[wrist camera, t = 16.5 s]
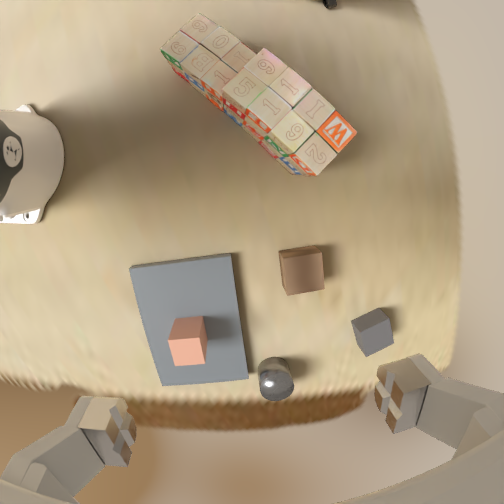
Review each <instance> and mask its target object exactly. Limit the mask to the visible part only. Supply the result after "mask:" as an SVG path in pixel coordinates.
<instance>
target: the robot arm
mask: <svg viewBox="0 0 504 504" xmlns="http://www.w3.org/2000/svg"><path fill="white" fill-rule="evenodd" d="M63 165H64V149H63V143H62V139H61V136H60V134H59V132H58V130H57V128H56V127H55V125H54V124H53V123H52V122H51V121H49V120H48V119H46V118H44V117H41V116H39V115H37V114H36V112H35V111H34V109H33V108H32V107H31V106H30V105H22V106H20V107H19V108H18V109H16V110H15V111H13V110H0V223H20V224H35V223H38V222H39V221H40V220H41V218H42V215H43V211H44V207H45V205H46V203H47V201H48V200H49V199H50V197H51V196H52V195H53V193H54V192H55V190H56V188H57V186H58V184H59V181H60V178H61V175H62V171H63ZM28 214H29V217H28ZM377 377H378V378H379V380H380V381H379V382H378V383H377V385H376V386H375V393H374V394H375V401H376V404H377V407H378V409H379V411H380V412H382V413H384V414H386V415H387V416H386V420H385V421H386V423H387V424H388V426H389V428H390V429H391V431H392V433H393V434H395V433H398V432H401V431H404V430H407V429H410V428H413V427H416V428H418V429H420V430H421V431H423V432H425V433H427V434H429V435H431V436H432V437H434V438H436V439H438V440H440V441H442V442H444V443H446V444H447V445H449V446H451V447H453V448H455V449H457V450H456V452H455V454H454V456H453V458H452V459H451V460H450V461H448V462H446V463H444V464H442V465H440V466H438V467H436V468H434V469H431V470H429V471H427V472H425V473H423V474H420V475H418V476H416V477H413V478H411V479H408V480H406V481H403V482H401V483H398V484H395V485H393V486H390V487H387V488H384V489H381V490H378V491H376V492H372V493H369V494H366V495H363V496H359V497H356V498H353V499H349V500H345V501H341V502H337V503H333V504H504V393H500V392H497V391H493V390H489V389H486V388H482V387H479V386H475V385H472V384H469V383H465V382H461V381H459V380H455V379H452V378H446V379H445V378H444V377H443V376H442V375H441V374H440V373H439V372H438V371H437V369H436V368H435V367H434V366H433V365H432V364H431V363H430V362H429V361H428V360H427V359H426V358H425V357H424V356H423V355H422V354H416V355H413V356H410V357H407V358H404V359H401V360H398V361H394V362H391V363H388V364H384V365H380V366H379V368H378V371H377ZM127 408H128V406H127V405H126V403H125V401H124V399H122V398H112V397H96V396H95V397H92V396H82V397H80V398H79V400H78V402H77V403H76V405H75V407H74V409H73V411H72V412H71V414H70V416H69V418H68V420H67V422H66V424H65V425H64V426H59V427H58V428H56V429H55V430H53V431H51V432H50V433H49V434H47V435H45V436H43V437H42V438H40V439H39V440H37V441H35V442H33V443H32V444H30V445H28V446H27V447H26V448H23V449H22V450H20V451H19V452H17V453H15V454H14V455H13V456H12V458H11V459H10V461H9V463H8V465H7V466H6V468H5V470H4V472H3V474H2V475H1V477H0V504H80V503H79V502H77V500H76V499H75V498H74V496H75V495H76V494H77V493H78V492H79V491H80V490H81V489H82V488H83V487H84V486H85V485H87V484H88V483H89V482H90V481H91V480H92V479H93V478H94V477H95V476H96V475H97V474H98V473H99V472H100V471H101V470H102V469H103V468H104V467H105V465H110V466H111V465H112V466H123V467H128V464H129V461H130V457H131V454H132V452H131V450H130V448H129V446H131V445H132V444H133V443H135V439H136V425H135V421H134V419H133V417H132V416H131V415H130V414H128V413H127V412H126V410H127Z"/></svg>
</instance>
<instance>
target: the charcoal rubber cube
mask: <svg viewBox="0 0 504 504" xmlns="http://www.w3.org/2000/svg"><path fill="white" fill-rule="evenodd" d="M351 322H352V326H353V329H354V333H355V337H356V340H357V344H358V346H359V347H360V349H361V350H362V352H363V353H364V354H365V356H366V357H367V356H369V355H371V354H373V353H376V352H378V351H380V350H382V349H384V348H386V347H387V346H389V345H391V344H393V343H394V340H393V335H392V329H391V324H390V319H389V317H388V316H387V315H386V314H385V313H384V312H383V311H382V310H381V309H380V308H377V309H375V310H373V311H371V312H369V313H367V314H364V315H362V316H360V317H358V318H356V319H354V320H352V321H351Z"/></svg>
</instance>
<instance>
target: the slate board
mask: <svg viewBox="0 0 504 504" xmlns="http://www.w3.org/2000/svg"><path fill="white" fill-rule="evenodd" d="M129 271H130V275H131V280H132V284H133V288H134V292H135V296H136V300H137V304H138V308H139V312H140V315H141V319H142V323H143V326H144V330H145V333H146V337H147V340H148V343H149V347H150V350H151V353H152V356H153V359H154V363H155V366H156V369H157V372H158V375H159V378H160V381H161V383H162V386H171V385H188V384H202V383H214V382H225V381H234V380H243V379H249V376H248V369H247V362H246V356H245V349H244V342H243V336H242V329H241V322H240V316H239V309H238V302H237V295H236V288H235V281H234V273H233V266H232V259H231V253H227V254H219V255H211V256H203V257H196V258H188V259H180V260H172V261H164V262H157V263H149V264H141V265H133V266H131V267H130V268H129ZM196 316H203V319H204V324H205V329H206V334H207V339H208V342H207V351H206V361H205V364H197V365H184V366H175V364H174V361H173V357H172V354H171V350H170V347H169V343H168V338H169V335H170V332H171V329H172V326H173V323H174V320H175V319H176V318H186V317H196Z"/></svg>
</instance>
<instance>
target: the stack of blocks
mask: <svg viewBox="0 0 504 504" xmlns="http://www.w3.org/2000/svg"><path fill="white" fill-rule="evenodd" d="M160 50H161V52H162V54H163V55H164V57H165V58H166V59H167V60H168V62H169V64H170V65H171V66H172V68H173V70H174V71H175V72H176V73H177V74H178V75H180V76H181V77H182V78H183V79H185V80H186V81H187V82H189V83H190V84H191V86H193V87H194V88H195V89H196V90H198V91H199V92H200V93H201V94H202V95H204V96H205V97H206V98H207V99H208V100H210V101H211V102H212V103H213V104H214V105H216V106H217V107H218V108H219V109H220V110H221V111H223V112H225V113H226V114H227V115H228V116H229V117H230V118H232V119H233V120H234V121H235V122H236V123H237V124H238V125H240V126H241V127H242V128H243V129H244V130H245V131H247V132H248V133H249V134H250V135H251V136H252V137H253V138H254V139H255V140H257V141H258V143H259V144H260V145H261V146H262V147H263V148H264V149H266V150H267V151H268V152H269V153H270V154H271V155H272V156H273V157H274V158H275V159H276V160H277V161H278V162H279V163H280V164H281V165H282V166H283V167H284V168H285V169H286V170H287V171H288V172H289V173H290V174H295V175H296V174H299V175H304V176H310V175H312V176H318V175H319V174H320V173H321V171H322V170H323V169H324V168H325V167H326V166H327V165H328V164H329V163H330V162H331V161H332V160H333V159H334V158H335V157H336V156H337V153H339V152H340V151H341V150H342V149H343V148H344V147H345V146H346V145H347V144H348V143H349V142H350V141H351V139H352V138H353V137H354V136H355V135H356V134H357V131H356V130H355V129H354V128H353V127H352V126H351V125H350V124H349V123H348V122H347V121H346V120H345V119H344V118H343V117H342V116H341V115H340V114H339V113H338V112H337V111H335V107H333V106H332V105H331V104H330V103H329V102H328V101H327V100H326V99H325V98H324V97H323V96H322V95H321V94H319V93H318V92H317V91H316V90H315V89H313V88H312V86H311V85H310V84H309V83H308V82H307V81H306V80H304V79H303V78H302V77H301V76H300V75H299V74H297V73H296V72H295V71H294V70H293V69H291V68H290V67H288V66H287V65H286V64H285V63H284V62H282V61H281V60H280V59H279V58H277V57H276V56H275V55H274V54H272V53H271V52H270V51H268V50H267V49H266V48H263V49H262V50H261V51H260V52H259V53H258V54H256V53H255V52H253V51H252V50H251V49H250V48H248V47H247V46H246V45H244V44H243V43H242V42H241V41H240V40H239V39H238V38H236V37H235V36H234V35H232V34H231V33H230V32H228V31H227V30H225V29H224V28H223V27H221V26H218V25H217V24H215V23H214V22H212V21H211V20H209V19H208V18H207V17H205V16H204V15H202V14H200V13H199V14H197V15H196V16H195V17H194V18H193V19H191V20H190V21H189V22H188V23H187V24H186V25H184V26H183V27H182V28H181V29H180V31H178V32H177V33H176V34H175V35H174V36H173V37H172V38H171V39H170V40H169V41H168V42H166V43H165V44H164V45H163V46H162V47H161V48H160Z"/></svg>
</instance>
